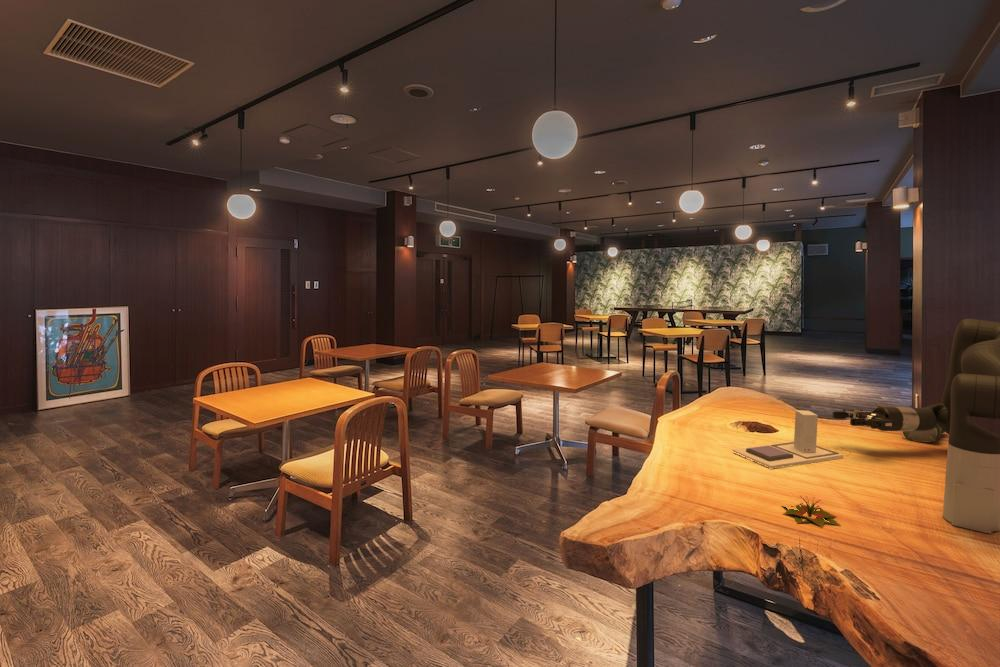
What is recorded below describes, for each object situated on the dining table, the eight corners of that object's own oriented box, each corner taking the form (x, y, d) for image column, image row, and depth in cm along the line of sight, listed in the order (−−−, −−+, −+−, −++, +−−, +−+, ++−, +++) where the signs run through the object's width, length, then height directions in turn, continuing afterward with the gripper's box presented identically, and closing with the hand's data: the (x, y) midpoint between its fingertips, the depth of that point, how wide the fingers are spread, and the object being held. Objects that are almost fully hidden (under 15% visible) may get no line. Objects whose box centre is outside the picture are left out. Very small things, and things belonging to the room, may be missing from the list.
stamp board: (800, 443, 164) (800, 436, 164) (843, 458, 149) (843, 451, 149) (732, 452, 155) (732, 445, 155) (771, 469, 141) (771, 461, 141)
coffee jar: (939, 445, 159) (950, 433, 170) (937, 420, 159) (949, 410, 170) (901, 440, 166) (915, 430, 178) (900, 417, 166) (913, 408, 178)
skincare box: (816, 453, 151) (818, 415, 150) (801, 452, 152) (803, 414, 151) (807, 446, 157) (809, 410, 156) (793, 446, 158) (794, 409, 157)
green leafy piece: (792, 529, 108) (793, 509, 107) (771, 504, 120) (772, 486, 119) (852, 532, 106) (853, 512, 106) (824, 507, 118) (825, 489, 117)
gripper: (879, 402, 159) (828, 401, 159) (914, 412, 145) (858, 412, 145) (878, 424, 159) (827, 424, 160) (912, 437, 145) (856, 436, 146)
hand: (841, 418), depth 153 cm, fingers open, 8 cm apart
